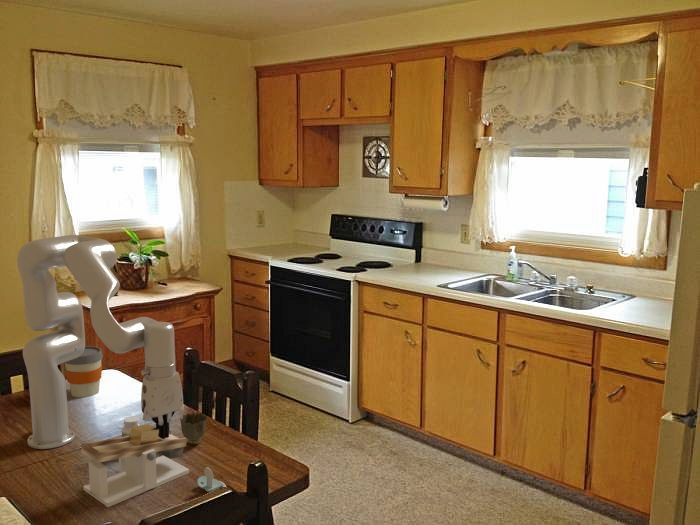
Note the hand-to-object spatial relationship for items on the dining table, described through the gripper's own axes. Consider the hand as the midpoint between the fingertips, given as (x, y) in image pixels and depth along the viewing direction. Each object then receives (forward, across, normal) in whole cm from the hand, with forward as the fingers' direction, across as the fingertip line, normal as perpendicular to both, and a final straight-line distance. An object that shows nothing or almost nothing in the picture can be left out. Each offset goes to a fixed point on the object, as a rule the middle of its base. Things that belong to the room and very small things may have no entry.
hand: (162, 436), depth 173 cm
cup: (+10, +15, +8) cm, 20 cm away
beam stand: (+10, -8, 0) cm, 12 cm away
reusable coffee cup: (+10, +14, +69) cm, 71 cm away
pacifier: (+10, +3, -17) cm, 20 cm away
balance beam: (+4, -9, 0) cm, 9 cm away
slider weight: (0, -6, 0) cm, 6 cm away
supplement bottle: (+10, 0, +16) cm, 19 cm away
